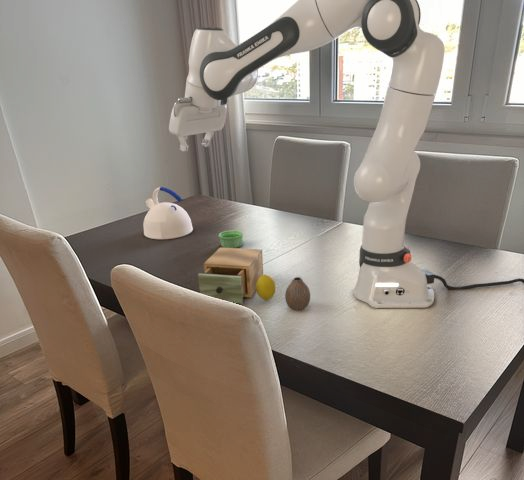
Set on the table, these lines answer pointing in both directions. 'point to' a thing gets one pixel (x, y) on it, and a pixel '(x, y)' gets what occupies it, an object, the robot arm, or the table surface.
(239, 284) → the drawer
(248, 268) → the cabinet
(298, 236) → the table surface
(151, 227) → the kettle
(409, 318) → the table surface
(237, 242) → the ramekin
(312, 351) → the table surface
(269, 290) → the lemon
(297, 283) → the vase
